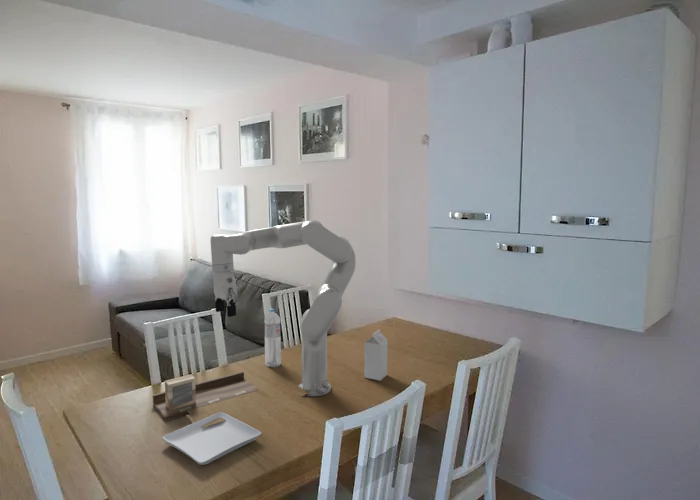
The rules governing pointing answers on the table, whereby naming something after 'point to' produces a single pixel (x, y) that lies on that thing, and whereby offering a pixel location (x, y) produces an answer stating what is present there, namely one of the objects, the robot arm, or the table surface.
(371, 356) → the milk carton
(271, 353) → the water bottle
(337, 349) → the table surface
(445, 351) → the table surface
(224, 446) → the salad plate
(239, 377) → the picture ledge
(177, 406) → the picture frame
